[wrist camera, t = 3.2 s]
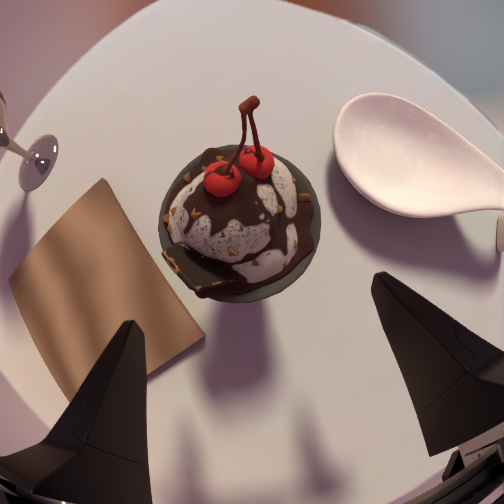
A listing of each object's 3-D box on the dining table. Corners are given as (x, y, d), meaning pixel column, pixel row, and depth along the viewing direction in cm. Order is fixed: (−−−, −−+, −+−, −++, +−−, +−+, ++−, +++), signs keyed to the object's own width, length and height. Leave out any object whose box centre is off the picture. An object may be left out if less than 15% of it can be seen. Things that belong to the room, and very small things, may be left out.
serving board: (85, 413, 19) (80, 416, 18) (14, 280, 21) (8, 280, 20) (205, 334, 20) (202, 336, 19) (107, 181, 22) (102, 177, 21)
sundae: (272, 195, 21) (301, 48, 6) (300, 277, 20) (406, 260, 6) (192, 221, 21) (90, 113, 6) (217, 304, 20) (132, 351, 5)
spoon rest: (309, 198, 21) (333, 160, 14) (337, 96, 23) (357, 48, 16) (495, 281, 20) (540, 277, 13) (500, 189, 22) (537, 171, 15)
